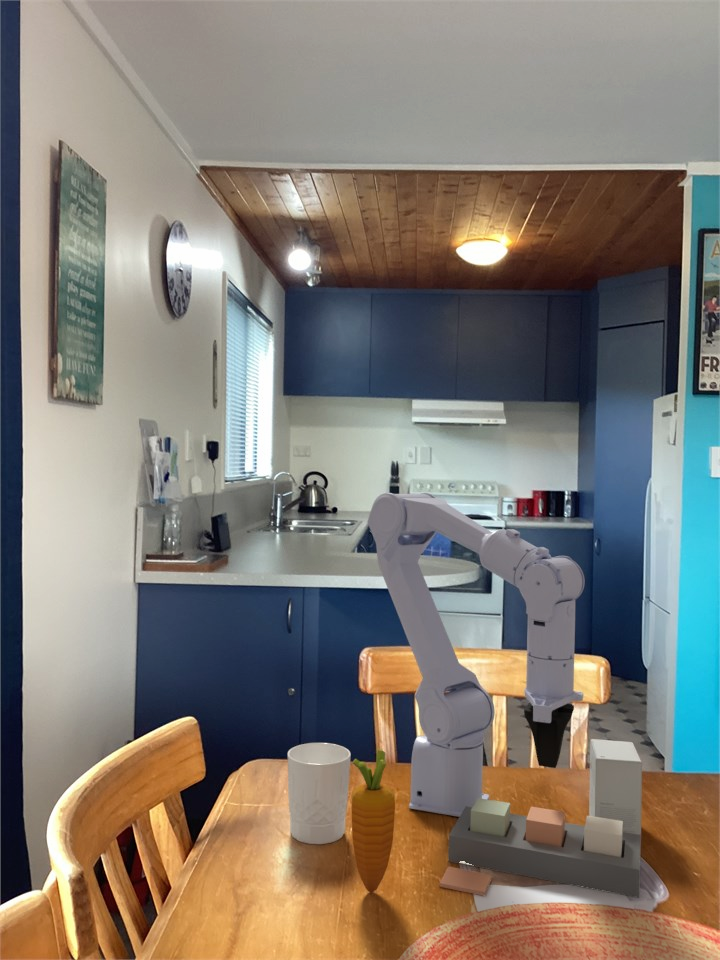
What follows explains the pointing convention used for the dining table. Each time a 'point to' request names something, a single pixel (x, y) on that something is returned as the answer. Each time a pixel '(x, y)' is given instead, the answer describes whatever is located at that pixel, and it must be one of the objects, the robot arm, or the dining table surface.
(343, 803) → the white cup
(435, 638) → the robot arm
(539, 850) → the keypad
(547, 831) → the key terracotta
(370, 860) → the carrot
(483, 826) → the key sage
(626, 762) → the small box
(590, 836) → the key cream
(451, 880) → the tile
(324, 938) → the dining table surface
